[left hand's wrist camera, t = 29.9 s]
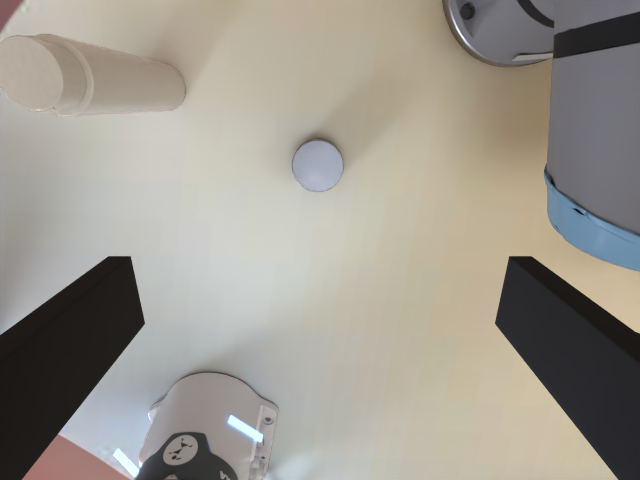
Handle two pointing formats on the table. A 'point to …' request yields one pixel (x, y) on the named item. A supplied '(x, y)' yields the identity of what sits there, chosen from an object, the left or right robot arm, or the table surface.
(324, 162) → the lid
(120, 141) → the table surface
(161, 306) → the table surface
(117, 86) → the white cylinder
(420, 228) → the table surface
